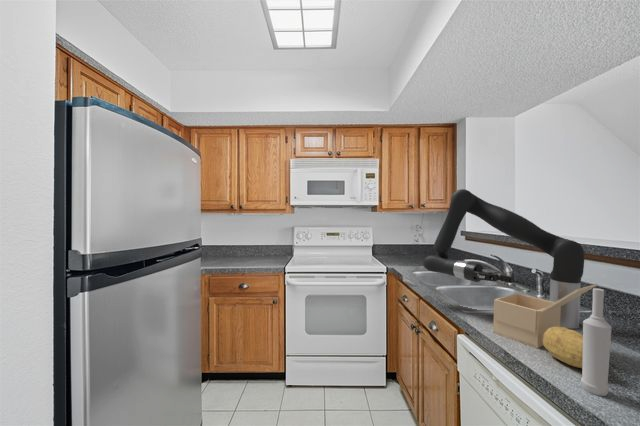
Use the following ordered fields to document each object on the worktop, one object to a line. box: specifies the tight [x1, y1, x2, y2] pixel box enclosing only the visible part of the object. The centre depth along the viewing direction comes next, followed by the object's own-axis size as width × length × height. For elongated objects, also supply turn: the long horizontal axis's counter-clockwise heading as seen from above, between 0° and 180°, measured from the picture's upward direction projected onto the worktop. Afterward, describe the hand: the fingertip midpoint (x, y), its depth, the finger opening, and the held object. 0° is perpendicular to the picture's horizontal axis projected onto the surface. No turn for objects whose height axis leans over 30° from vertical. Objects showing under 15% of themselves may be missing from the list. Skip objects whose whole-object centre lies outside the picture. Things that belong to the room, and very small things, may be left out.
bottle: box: [580, 287, 612, 397], centre depth 75 cm, size 5×5×25 cm
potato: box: [542, 327, 583, 369], centre depth 88 cm, size 10×14×10 cm
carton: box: [492, 293, 561, 349], centre depth 107 cm, size 17×14×12 cm
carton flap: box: [541, 283, 599, 312], centre depth 96 cm, size 15×13×1 cm
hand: (512, 280), depth 111 cm, fingers closed
